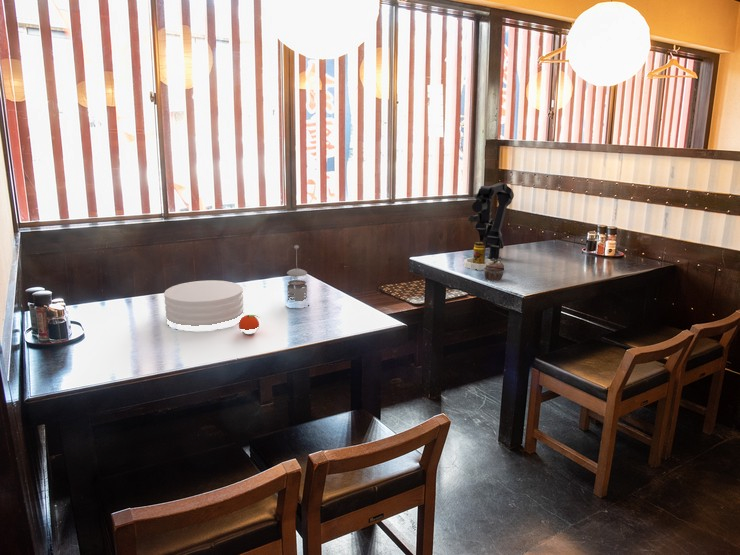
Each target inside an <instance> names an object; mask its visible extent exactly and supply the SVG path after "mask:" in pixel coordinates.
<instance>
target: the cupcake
mask: <svg viewBox="0 0 740 555" xmlns="http://www.w3.org/2000/svg"><path fill="white" fill-rule="evenodd" d="M483 271H484V279H485V278H486V280H487V279H488V280H487V281H494V280H497V281H501V280H502V279H503V277H504V276H503V275H504V272H505V265H504V263H503V262H502V259H501V258H500V259H494V258H493V259H490V262H489V263H487V264H486V267H485V268H484V270H483Z"/></svg>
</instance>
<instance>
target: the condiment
mask: <svg viewBox="0 0 740 555" xmlns="http://www.w3.org/2000/svg"><path fill="white" fill-rule="evenodd" d="M472 256H473V257H472V258H473V262H471V263H475V264H486V263H485V258H486V242H484V241H476V242H474V247H473V253H472Z"/></svg>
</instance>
